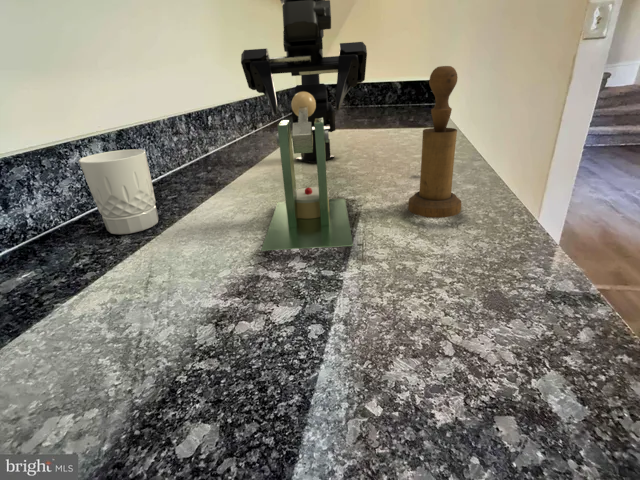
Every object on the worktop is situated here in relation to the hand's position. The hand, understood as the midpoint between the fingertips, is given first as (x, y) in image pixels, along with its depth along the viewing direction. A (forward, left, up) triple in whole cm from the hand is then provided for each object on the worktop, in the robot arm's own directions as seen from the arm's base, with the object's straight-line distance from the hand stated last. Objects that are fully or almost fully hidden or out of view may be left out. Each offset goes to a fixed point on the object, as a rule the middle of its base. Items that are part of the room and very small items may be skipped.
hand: (306, 110), depth 53 cm
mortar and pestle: (+20, +4, -13) cm, 24 cm away
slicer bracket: (+10, -9, -13) cm, 19 cm away
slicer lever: (+6, -6, -2) cm, 9 cm away
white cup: (-11, -24, -13) cm, 30 cm away
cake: (+7, -7, -12) cm, 16 cm away
